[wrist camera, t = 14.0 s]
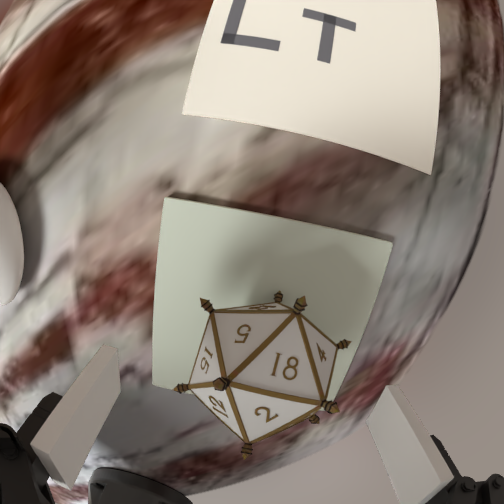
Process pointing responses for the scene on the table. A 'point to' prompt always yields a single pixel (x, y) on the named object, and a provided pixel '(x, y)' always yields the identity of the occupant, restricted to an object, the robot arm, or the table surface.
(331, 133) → the card
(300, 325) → the game die
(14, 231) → the flower in vase
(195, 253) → the sage mat
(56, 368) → the table surface
